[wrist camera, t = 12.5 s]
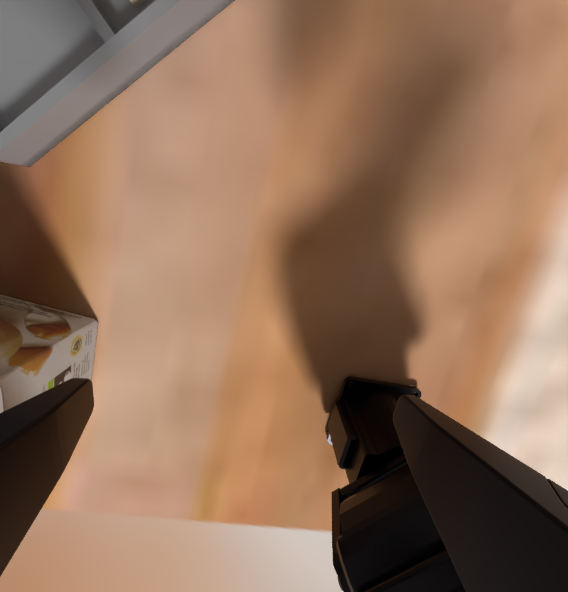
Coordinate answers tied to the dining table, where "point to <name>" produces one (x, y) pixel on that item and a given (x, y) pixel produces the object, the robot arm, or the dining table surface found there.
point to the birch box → (136, 2)
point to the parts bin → (79, 61)
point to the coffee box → (41, 349)
